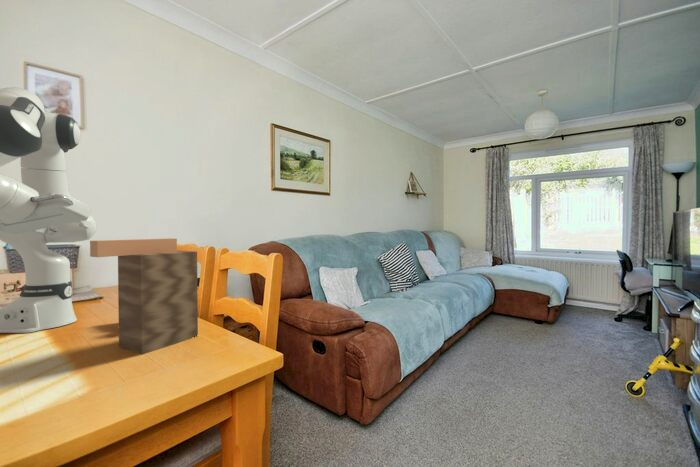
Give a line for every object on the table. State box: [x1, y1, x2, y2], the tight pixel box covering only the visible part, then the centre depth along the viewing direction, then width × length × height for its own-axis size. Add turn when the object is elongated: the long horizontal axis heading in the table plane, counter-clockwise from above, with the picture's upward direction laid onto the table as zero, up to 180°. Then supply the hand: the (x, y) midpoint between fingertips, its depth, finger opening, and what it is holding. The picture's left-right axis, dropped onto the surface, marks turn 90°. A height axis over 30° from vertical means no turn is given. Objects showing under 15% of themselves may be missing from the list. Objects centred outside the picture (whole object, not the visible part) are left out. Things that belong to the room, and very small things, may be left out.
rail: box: [89, 237, 178, 258], centre depth 87 cm, size 20×4×4 cm, turn 150°
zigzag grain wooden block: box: [117, 249, 199, 355], centre depth 92 cm, size 16×12×26 cm
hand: (71, 229), depth 81 cm, fingers open, 8 cm apart
